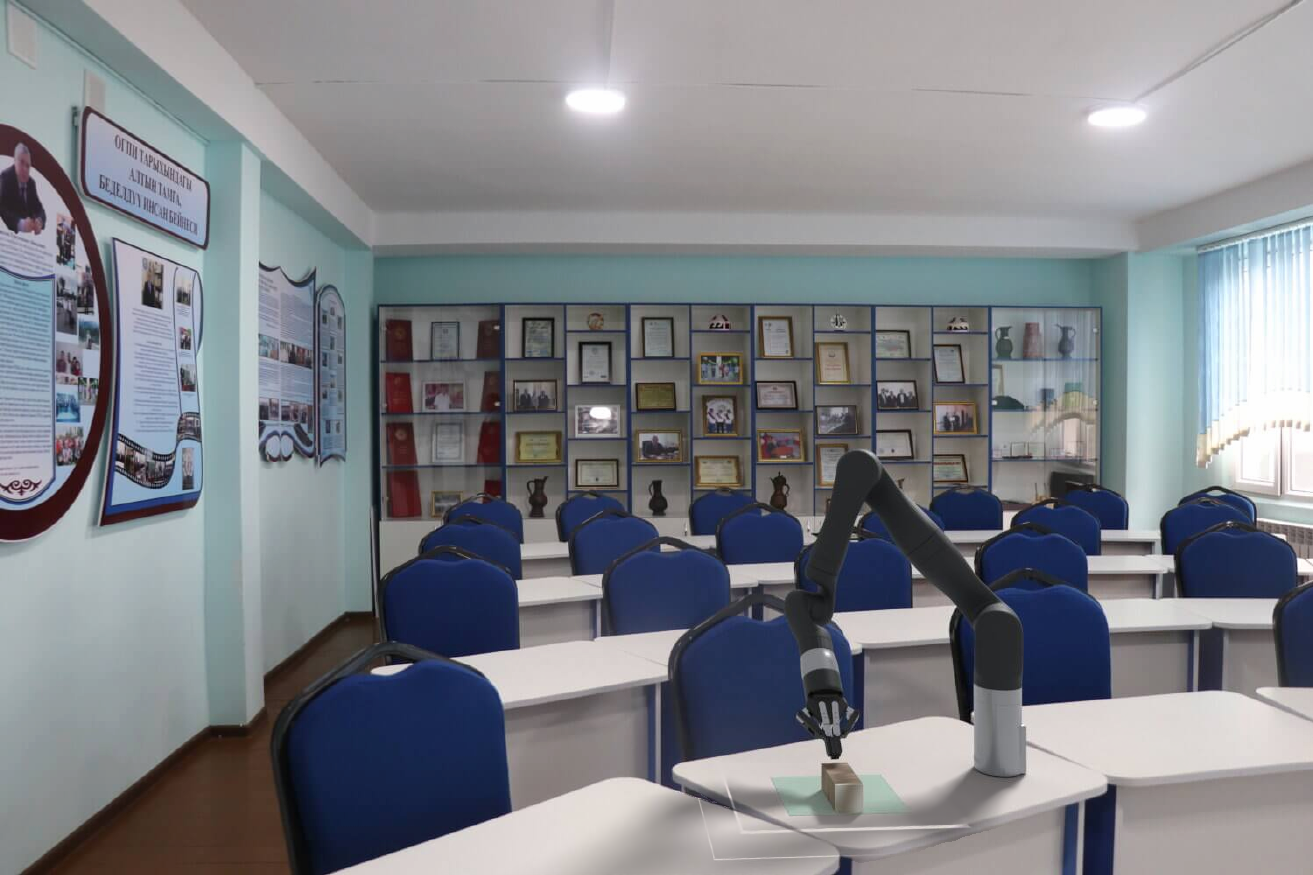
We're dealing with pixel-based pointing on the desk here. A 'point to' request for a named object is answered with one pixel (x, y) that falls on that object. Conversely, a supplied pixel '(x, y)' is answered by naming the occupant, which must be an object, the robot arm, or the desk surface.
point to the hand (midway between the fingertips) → (835, 757)
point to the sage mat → (810, 799)
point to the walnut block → (842, 787)
